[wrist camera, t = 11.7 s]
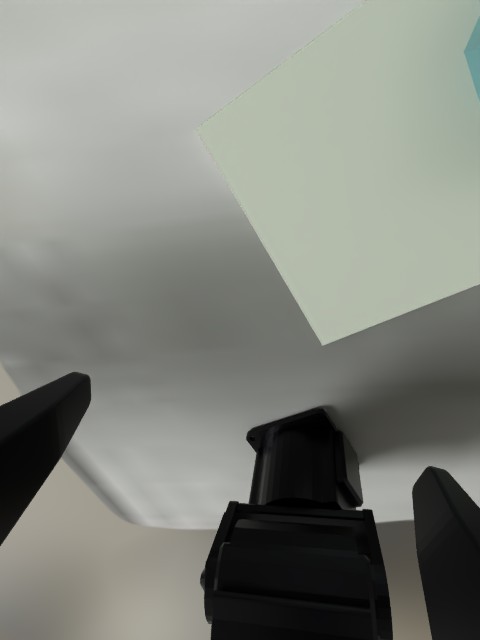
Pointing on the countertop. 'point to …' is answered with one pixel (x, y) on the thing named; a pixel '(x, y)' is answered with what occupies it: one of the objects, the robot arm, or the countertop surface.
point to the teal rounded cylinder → (474, 56)
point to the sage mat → (363, 163)
